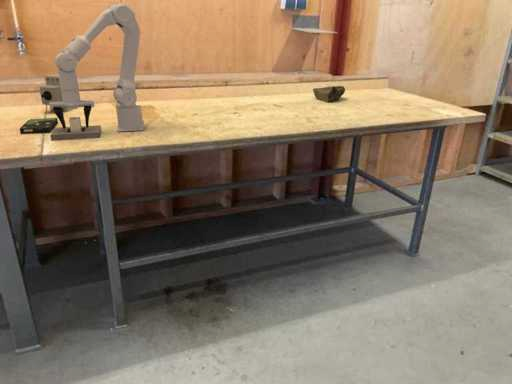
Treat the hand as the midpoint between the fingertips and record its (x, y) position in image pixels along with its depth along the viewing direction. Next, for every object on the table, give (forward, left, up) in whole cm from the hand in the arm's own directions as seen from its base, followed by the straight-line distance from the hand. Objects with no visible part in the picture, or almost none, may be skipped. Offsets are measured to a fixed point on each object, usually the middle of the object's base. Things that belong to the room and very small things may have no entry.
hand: (76, 127), depth 150 cm
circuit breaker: (+11, -42, -3) cm, 44 cm away
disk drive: (+14, -13, -4) cm, 20 cm away
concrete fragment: (-121, -42, -3) cm, 128 cm away
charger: (0, 0, -3) cm, 3 cm away
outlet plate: (0, 0, -3) cm, 3 cm away
